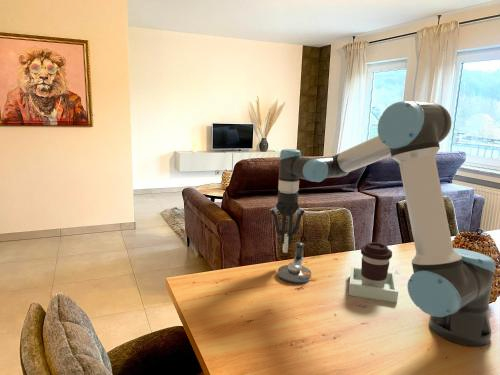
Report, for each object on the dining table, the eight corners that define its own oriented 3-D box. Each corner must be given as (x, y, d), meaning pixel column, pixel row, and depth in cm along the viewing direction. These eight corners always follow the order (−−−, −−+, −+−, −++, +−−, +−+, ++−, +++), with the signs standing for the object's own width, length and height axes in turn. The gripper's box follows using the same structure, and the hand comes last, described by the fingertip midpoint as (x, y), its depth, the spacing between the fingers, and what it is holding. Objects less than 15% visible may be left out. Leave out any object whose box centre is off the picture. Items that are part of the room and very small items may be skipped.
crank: (300, 274, 133) (301, 255, 131) (286, 272, 134) (287, 253, 132) (305, 260, 145) (307, 243, 144) (293, 258, 146) (294, 241, 145)
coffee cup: (354, 289, 126) (358, 247, 123) (360, 278, 135) (365, 238, 132) (385, 296, 122) (390, 253, 118) (389, 284, 130) (394, 244, 127)
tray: (397, 302, 120) (398, 291, 119) (348, 295, 124) (349, 284, 123) (393, 282, 134) (394, 272, 133) (350, 276, 138) (351, 266, 137)
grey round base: (314, 287, 128) (314, 281, 128) (274, 280, 132) (274, 275, 132) (318, 273, 140) (318, 268, 139) (281, 267, 143) (281, 262, 143)
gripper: (303, 189, 142) (300, 248, 147) (269, 188, 141) (267, 247, 146) (307, 193, 135) (303, 255, 140) (272, 193, 134) (269, 255, 139)
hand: (285, 251), depth 143 cm, fingers closed
